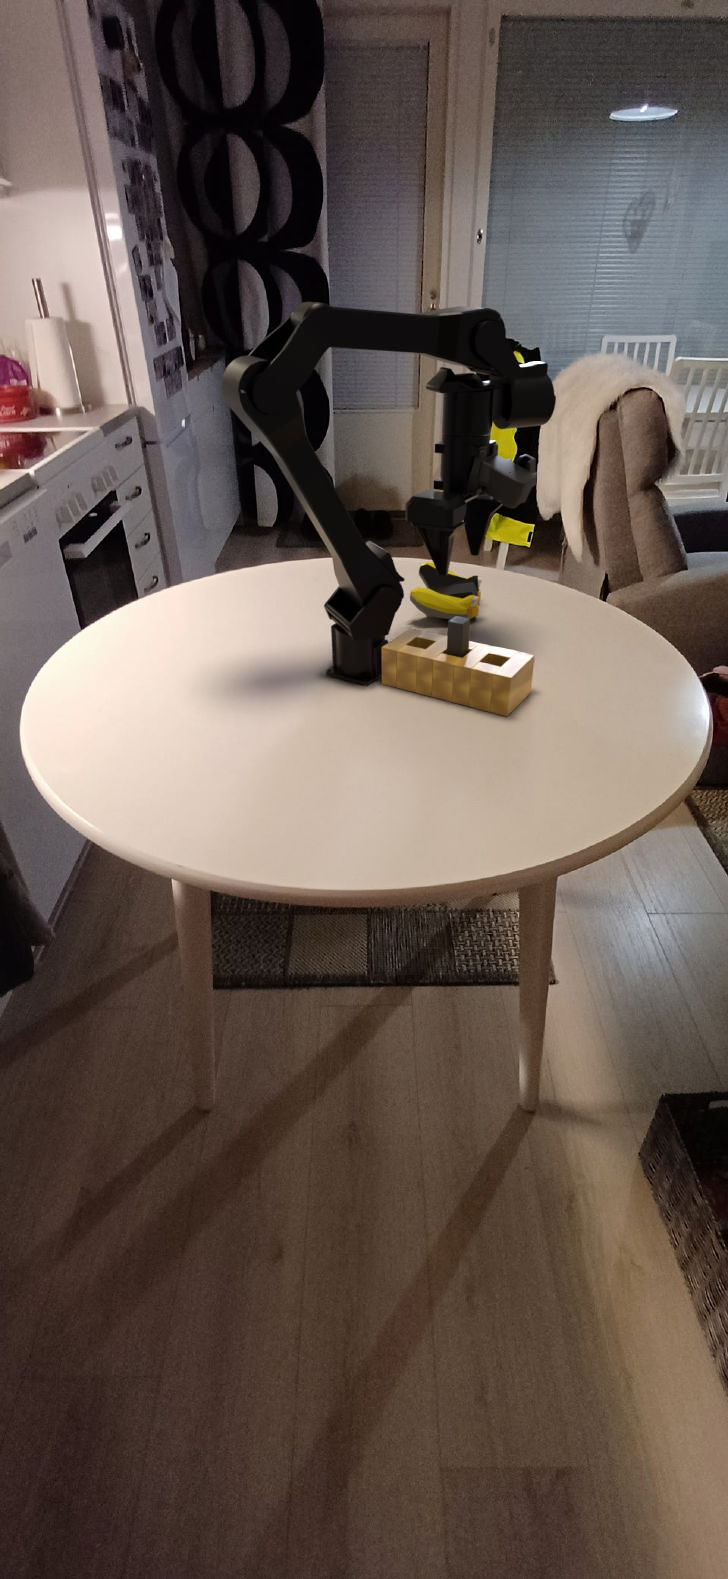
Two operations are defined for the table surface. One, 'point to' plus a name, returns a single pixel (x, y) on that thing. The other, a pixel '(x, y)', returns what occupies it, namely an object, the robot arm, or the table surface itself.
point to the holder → (458, 671)
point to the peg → (458, 636)
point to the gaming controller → (446, 594)
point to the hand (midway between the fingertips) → (459, 564)
